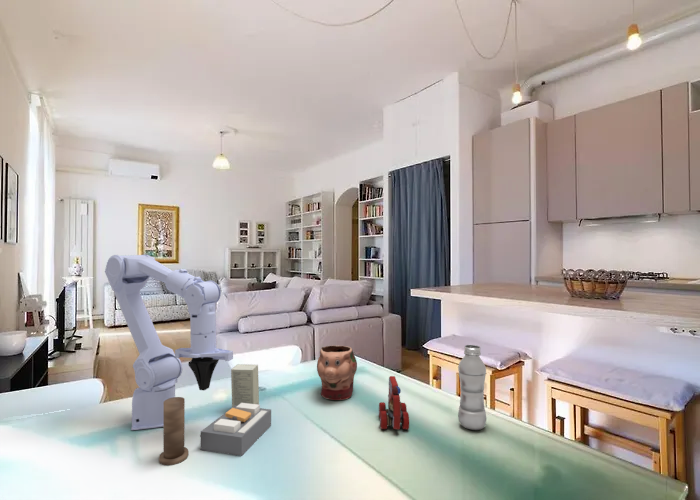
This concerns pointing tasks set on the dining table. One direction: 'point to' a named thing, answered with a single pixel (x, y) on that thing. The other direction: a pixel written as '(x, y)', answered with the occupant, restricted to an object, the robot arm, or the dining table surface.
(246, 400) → the skincare box
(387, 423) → the toy fire truck
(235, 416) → the breaker paddle
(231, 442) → the switch box
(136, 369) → the robot arm
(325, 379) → the decorative planter
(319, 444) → the dining table surface
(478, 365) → the plastic bottle
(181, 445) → the walnut post
